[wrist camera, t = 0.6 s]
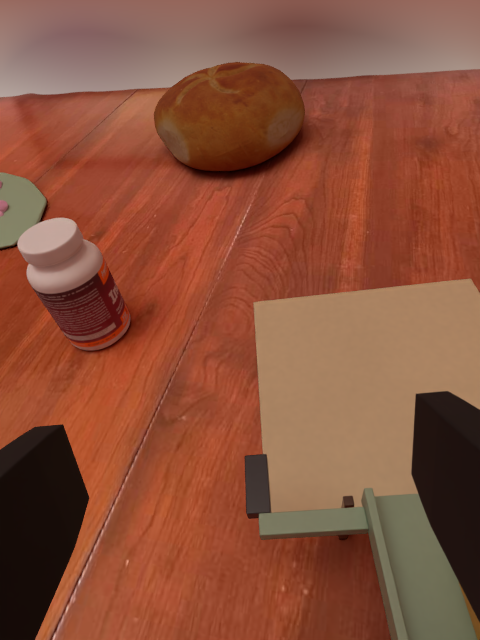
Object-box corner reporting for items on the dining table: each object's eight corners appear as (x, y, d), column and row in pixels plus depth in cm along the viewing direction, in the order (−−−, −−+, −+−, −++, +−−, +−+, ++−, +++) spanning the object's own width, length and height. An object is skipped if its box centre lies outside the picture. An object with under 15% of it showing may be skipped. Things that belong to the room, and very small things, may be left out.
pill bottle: (142, 330, 38) (97, 235, 30) (81, 364, 37) (16, 272, 29) (118, 296, 42) (72, 203, 34) (62, 325, 40) (-1, 234, 32)
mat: (608, 509, 24) (611, 507, 23) (267, 530, 25) (267, 529, 25) (469, 280, 37) (470, 278, 37) (253, 304, 39) (253, 302, 39)
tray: (676, 681, 15) (724, 680, 13) (253, 694, 16) (246, 693, 14) (539, 439, 21) (560, 416, 19) (246, 461, 23) (240, 441, 21)
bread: (132, 178, 60) (107, 106, 53) (194, 112, 74) (181, 49, 67) (282, 186, 53) (277, 105, 46) (318, 112, 67) (319, 41, 60)
